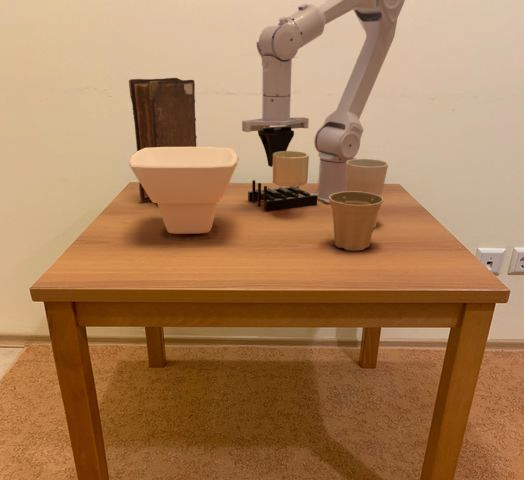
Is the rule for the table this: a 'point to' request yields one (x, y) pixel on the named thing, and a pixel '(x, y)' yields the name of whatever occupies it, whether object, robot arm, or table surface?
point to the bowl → (185, 183)
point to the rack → (281, 197)
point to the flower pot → (354, 218)
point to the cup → (366, 176)
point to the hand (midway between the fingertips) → (275, 166)
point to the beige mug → (290, 168)
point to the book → (163, 114)
